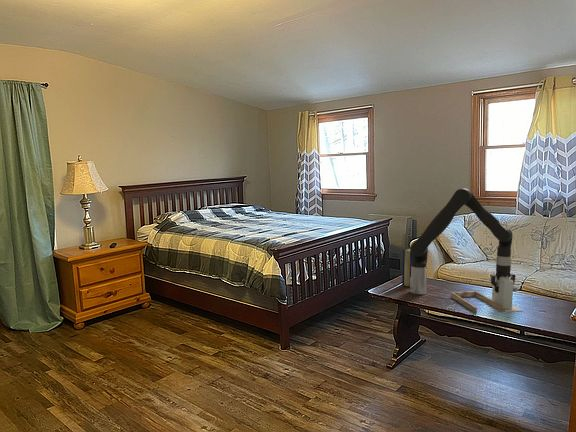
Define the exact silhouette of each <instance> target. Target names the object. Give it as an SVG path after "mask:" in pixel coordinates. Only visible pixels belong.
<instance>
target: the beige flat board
mask: <svg viewBox="0 0 576 432" xmlns="http://www.w3.org/2000/svg"><path fill="white" fill-rule="evenodd" d="M489 298H490V299H491V300H493V301H495V300H494V299H493V298H492V296H491V297H490V296H489ZM495 302H496V301H495ZM523 311H524V310H523V308H520V307H518V306H516V305H514V304H513V303H512V309H503V312H505V313H511V312H515V313H517V312H523Z"/></svg>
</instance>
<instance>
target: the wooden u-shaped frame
mask: <svg viewBox="0 0 576 432" xmlns="http://www.w3.org/2000/svg"><path fill="white" fill-rule="evenodd" d="M450 297H451V298H452V299H454V300H455V301H456V302H458V303H459V304H461V305H462V306H464V307H465V308H467V309H468V310H470V311H471V312H473V313H474V314H477V313H478V308H477V306H475V305H473V304H472V303H470V302H469V301H468V300H466V299H465V298H467V297H468V298H469V297H476V298H477V299H478V300H479V299H480V300H481V301H483V302H485V303H486V304H488V305H490V306H491V307H493V308H495V309H496V310H498V311H500V312H501V313H502V312H504V311H503V306H502V305H500V304H498V303H497V302H495V301H493V300H491V299H490V297H488V296H486V295H484V294H482V293H481V292H479V291H477V290H472V291H451V293H450Z"/></svg>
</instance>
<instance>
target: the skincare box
mask: <svg viewBox="0 0 576 432" xmlns="http://www.w3.org/2000/svg"><path fill="white" fill-rule="evenodd" d="M492 273H493V274H492V275H495V274H496V271H494V272H492ZM496 279H497V277H496V278H495V280H496ZM499 280H500V283H499V286H498V287H499V292H498V293H496V292H495V286H494V285H491V286H492V287H491V288H492V290H491V297H492V298H493V299H494V300H495V301H496V302H497V303H498V304H500V305H502V306H503V309H512V304H513V300H514V299H513V298H514V297H513V296H514V285H513V282H514V281H512V280H511V277H500V278H499ZM499 280H498V281H499ZM495 282H496V281H495Z"/></svg>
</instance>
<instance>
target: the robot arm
mask: <svg viewBox="0 0 576 432" xmlns="http://www.w3.org/2000/svg"><path fill="white" fill-rule="evenodd" d="M464 205H465V206H466V207H467V208H468V209H470V210H471V211H472V212H473V213H474V215H475V216H476V218H478V220H479V221H480V222H481V223H482V224H483V225H484V226H485V227H486V228H487V229H489V230H490V232H491V234H493V236H494V237H495V238H496V239H497V240H498V245H497V247H496V248H497V250H496V259H495V260H496V261H495V263H496V264H495V272H496V274H495V275H493V274H490V284H491V286H493V285H494V286H495V292H496V293H498V292H499V287H498V286H499V283H500V280H499V278H500V277H509V278H510V279H511V280H512V281H514V282H513V286H514V285H515V281H516V274H515V273H511V271H512V270H511V269H512V268H511V267H512V257H511V256H512V255H511V254H512V243H513V237H514V235H513V232H512V230H511V229H509V228H507V227H506V228H504V227H503V225H502V224H501V223H500V221H499V219H498V218H497V217H496V216H494V215H493V214H492V213H491V212H490V211H489V210H488V209H486V208H485V206H484V205H482V203H480V201H479V200H478V199H477V198H476V196H475V195H474V194H473V193H472V191H471V190H470V189H468V188H462V187H461V188H458V189H456V190H455V192H454V193H453V195H452V196H451V197H450V199H449V201H448V202H447V203H446V205H444V207H443V208H442V209H440V211H439V212H438V213H437V214H436V215H435V216H434V217H433V219H432V220H431V221H430V223H429V224H428V226H427V227H426V228H425V230H424V231H423V232H422V233H421V235H420V236H419V237H418V238H417V239H415V241H414V242H413V243H412V244H411V245H410V247H409V248H410V252H411V254H412V255H413V258H412V262H411V277H410V286H409V292H410V293H411V294H412V295H425V294H426V293H427V262H428V251H429V250H428V248H429V246H430V245H431V244H432V243H433V241H435V240H436V239H437V238H439V236H440V235H442V234H443V232H444V231H445V230H446V229H447V228H448V226H450V224H451V223H452V221H453V219H454V217H455V215H457V212H459V210H460V209H462V207H464ZM496 277H497V279H496V280H495V278H496ZM498 280H499V281H498ZM495 281H496V282H495Z"/></svg>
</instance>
